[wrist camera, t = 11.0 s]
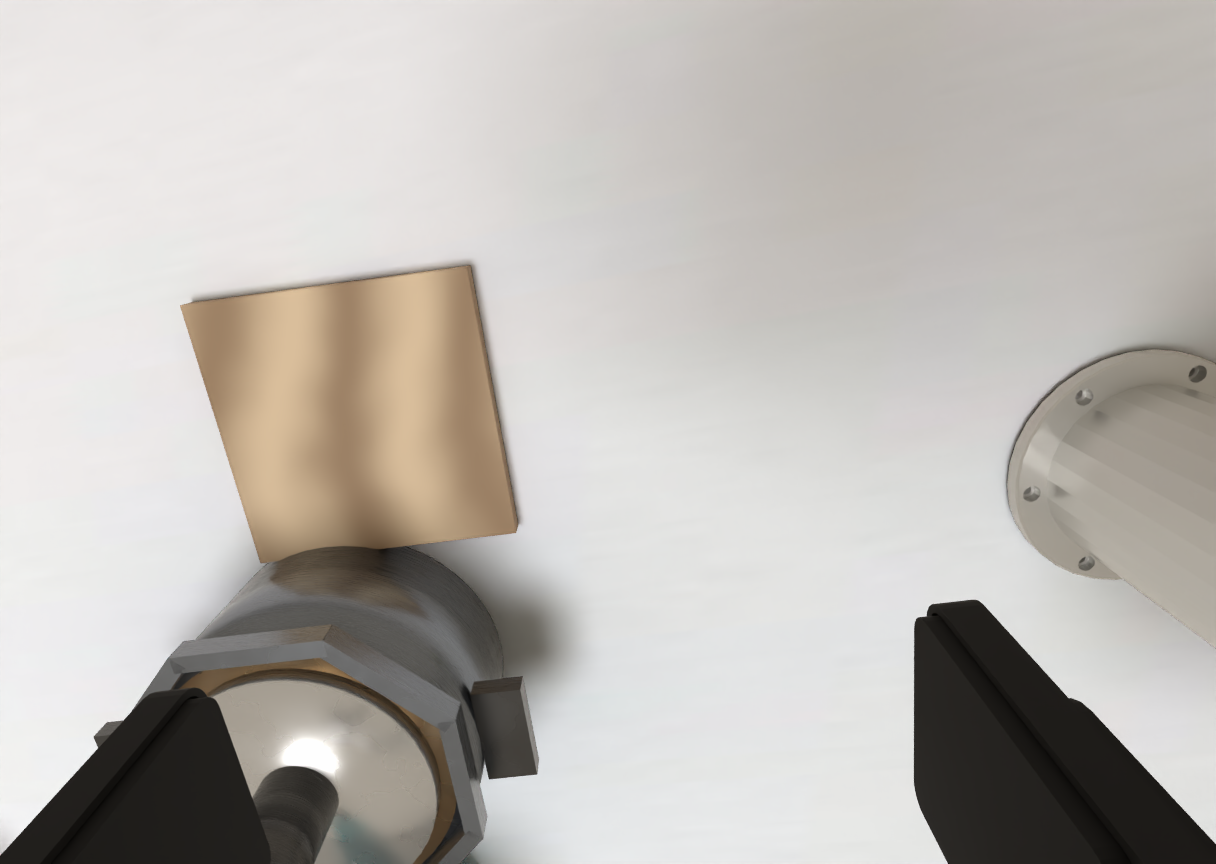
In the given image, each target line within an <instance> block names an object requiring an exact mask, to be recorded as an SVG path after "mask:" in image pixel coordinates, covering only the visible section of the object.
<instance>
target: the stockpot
mask: <svg viewBox="0 0 1216 864" xmlns="http://www.w3.org/2000/svg"><path fill="white" fill-rule="evenodd" d="M283 668H297V669H309V670H316V671H322V672H327V673H332V674H335V675H338V676H341V677H345V678H348V679H351V680H353V681H355V682H358V683H360V684H362V685H365V686H367V687H369V688H370V689H372V690H374V691H376V692H378V693H379V694H381V695H383V696H384V697H386V698H387V699H388V700H390V701H391V702H392V703H394V704H395V705H397V706H398V707H399V708H400V709H401V710H402V711H403V712H404V713H405V714H406V715H408V716H409V717H410V718H411V720H412V721H413V722H414V723H415V724H416V726H417V727H418V728H419V729H420V730H421V732H422V733H423V735H424V737H425V738H426V740H427V741H428V743H429V745H430V747H431V749H432V751H433V753H434V756H435V758H436V762H437V765H438V769H439V773H440V781H441V797H440V803H439V808H438V812H437V816H436V820H435V824H434V827H433V830H432V833H431V836H430V838H429V841H428V843H427V844H426V846H425V848H424V849H423V851H422V853H421V854H420V855H419V857H418V858H417V859H416V860H415V861H414V863H413V864H460V863H461V862H462V861H463V860H464V859H465V857H466V856H467V855H468V854H469V853H470V852H471V851H472V850H473V849H474V848H475V847H476V846H477V844H478V843H479V842H480V841H481V840H482V839H483V837H484V831H485V826H486V821H487V813H486V809H485V805H484V801H483V796H482V792H481V788H480V783H481V778H482V773H483V768H484V764H486V768H487V772H488V777H489V779H497V778H507V777H516V776H526V775H535V774H537V772H538V763H539V757H538V752H537V747H536V742H535V737H534V731H533V726H532V721H531V716H530V711H529V706H528V701H527V696H526V691H525V686H524V681H523V676H521V677H512V678H503V679H502V677H503V657H502V649H501V644H500V640H499V637H498V633H497V630H496V628H495V626H494V623H493V621H492V619H491V617H490V615H489V613H488V612H487V610H486V608H485V607H484V605H483V604H482V602H481V601H480V599H479V598H478V597H477V596H476V594H475V593H474V592H473V591H472V590H471V588H470V587H469V586H468V585H467V584H465V583H464V582H463V581H462V580H461V579H460V578H459V577H458V576H457V575H456V574H454V573H453V572H452V571H450V570H449V569H448V568H446V567H445V566H443V565H442V564H440V563H439V562H437V561H435V560H433V559H432V558H430V557H428V556H426V555H424V554H422V553H420V552H417V551H415V550H413V549H410V548H408V547H405V546H402V547H393V548H385V549H373V548H367V547H356V546H334V547H323V548H317V549H312V550H307V551H303V552H300V553H297V554H294V555H291V556H288V557H286V558H284V559H282V560H280V561H275V562H269V563H268V564H266V565H265V566H264V567H263V568H262V569H261V570H260V571H259V572H257V573H256V574H255V575H254V576H253V577H252V578H251V580H250V581H249V582H248V583H247V584H246V585H245V586H244V587H243V588H242V589H241V590H240V592H239V593H238V594H237V595H236V596H235V597H234V598H233V599H232V600H231V601H230V602H229V604H228V605H227V606H226V607H225V608H224V609H223V610H222V611H221V612H220V613H219V615H218V616H217V617H216V618H215V619H214V620H213V621H212V622H211V623H210V624H209V625H208V627H207V628H206V629H205V630H204V631H203V632H202V633H201V634H200V635H199V636H198V637H197V639H196V640H191V641H184V642H183V643H182V644H181V645H180V646H179V647H178V648H177V649H176V650H175V651H174V652H173V653H172V654H171V656H170V657H169V658H168V659H167V660H166V662H165V663H164V665H163V666H162V668H161V669H160V671H159V672H158V674H157V675H156V676H155V678H154V679H153V681H152V682H151V684H150V685H149V687H148V688H147V690H146V691H145V693H144V694H143V695H142V697H141V698H140V700H139V701H138V703H137V704H136V706H137V705H138V704H139V703H140V702H141V701H142V700H143V699H144V698H145V697H146V696H148V695H149V694H151V693H154V692H158V691H167V690H176V689H185V688H194V687H195V688H199V689H201V690H202V691H203V692H205V694H207V693H208V692H210V691H211V690H212V689H214V688H216V687H218V686H219V685H221V684H223V683H225V682H227V681H229V680H232V679H234V678H236V677H239V676H242V675H245V674H249V673H253V672H257V671H263V670H270V669H283ZM136 706H135V707H134V709H135V708H136ZM134 709H133V710H134ZM133 710H132V711H133ZM122 722H123V721H115V722H107V723H106V724H105V725H104V726H103V727H102V728H101V729H100V730H99V732H98V733H97V734H96V735H95V736H94V739H95V741H96V744H97V746H98V748H99V747H100V746H101V745H102V744H103V743H104V742H105V740H106V739H107V738H108V737H109V736H110V735H111V734H112V733H113V732H114V731H115V729H116V728H117V727H118V726H119V725H120V724H121V723H122Z"/></svg>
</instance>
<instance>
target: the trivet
mask: <svg viewBox="0 0 1216 864" xmlns="http://www.w3.org/2000/svg"><path fill="white" fill-rule="evenodd" d="M180 307H181V310H182V313H183V317H184V320H185V323H186V326H187V329H188V333H189V336H190V339H191V342H192V345H193V349H194V352H195V355H196V358H197V361H198V365H199V368H200V371H201V374H202V377H203V381H204V384H205V387H206V390H207V393H208V396H209V400H210V403H211V406H212V409H213V412H214V416H215V419H216V422H217V425H218V428H219V432H220V435H221V438H222V441H223V444H224V448H225V451H226V454H227V457H228V460H229V464H230V467H231V470H232V473H233V476H234V480H235V483H236V486H237V489H238V492H239V496H240V499H241V502H242V505H243V508H244V512H245V515H246V518H247V521H248V524H249V528H250V531H251V534H252V537H253V540H254V544H255V547H256V550H257V553H258V556H259V560H260V563H267V562H275V561H280V560H282V559H284V558H286V557H288V556H291V555H294V554H297V553H300V552H303V551H307V550H312V549H317V548H323V547H334V546H356V547H367V548H373V549H385V548H393V547H402V546H410V545H418V544H427V543H435V542H444V541H452V540H461V539H469V538H477V537H486V536H494V535H503V534H511V533H516V531H517V528H518V521H517V515H516V510H515V504H514V499H513V494H512V488H511V483H510V477H509V472H508V466H507V461H506V456H505V450H504V445H503V439H502V434H501V429H500V423H499V418H498V412H497V407H496V402H495V396H494V391H493V385H492V380H491V374H490V369H489V364H488V358H487V353H486V347H485V342H484V337H483V331H482V326H481V320H480V315H479V310H478V304H477V299H476V293H475V288H474V282H473V277H472V272H471V266H470V265H469V266H462V267H454V268H447V269H439V270H432V271H424V272H417V273H409V274H402V275H394V276H387V277H379V278H371V279H364V280H356V281H349V282H341V283H334V284H326V285H319V286H311V287H304V288H296V289H289V290H281V291H274V292H266V293H259V294H251V295H244V296H236V297H229V298H221V299H214V300H206V301H199V302H191V303H188V304H184V305H180Z"/></svg>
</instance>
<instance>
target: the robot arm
mask: <svg viewBox="0 0 1216 864" xmlns="http://www.w3.org/2000/svg"><path fill="white" fill-rule="evenodd" d="M1007 488H1008V498H1009V506H1010V509H1011V512H1012V515H1013V517H1014V520H1015V523H1016V525H1017V526H1018V528H1019V530H1020V531H1021V533H1022V534H1023V536H1024V538H1025V539H1026V540H1027V541H1028V542H1029V543H1030V544H1031V545H1032V546H1033V547H1034V548H1035V549H1036V550H1037V551H1038V552H1039V553H1040V554H1042V555H1043V556H1044V557H1046V558H1047V559H1048V560H1050V561H1051V562H1052V563H1054V564H1055V565H1057V566H1059V567H1061V568H1063V569H1065V570H1067V571H1069V572H1071V573H1073V574H1077V575H1081V576H1085V577H1089V578H1094V579H1110V580H1118V579H1124V580H1125V581H1126V582H1128V583H1129V584H1130V585H1131V586H1133V587H1134V588H1135V589H1137V590H1138V591H1139V592H1141V593H1142V594H1143V595H1145V596H1146V597H1147V598H1149V599H1150V600H1151V601H1153V602H1154V603H1155V604H1157V605H1158V606H1159V607H1161V608H1162V609H1163V610H1165V611H1166V612H1167V613H1169V614H1170V615H1171V616H1173V617H1174V618H1175V619H1177V620H1178V621H1179V622H1181V623H1182V624H1183V625H1185V626H1186V627H1187V628H1189V629H1190V630H1191V631H1193V632H1194V633H1195V634H1197V635H1198V636H1199V637H1201V638H1202V639H1203V640H1205V641H1206V642H1207V643H1209V644H1210V645H1211V646H1213V647H1214V648H1215V649H1216V363H1214V362H1211V361H1209V360H1206V359H1204V358H1201V357H1198V356H1194V355H1191V354H1187V353H1183V352H1179V351H1170V350H1156V349H1151V350H1143V351H1134V352H1127V353H1124V354H1121V355H1117V356H1114V357H1110V358H1107V359H1104V360H1102V361H1100V362H1098V363H1096V364H1094V365H1092V366H1089V367H1087V368H1085V369H1083V370H1081V371H1080V372H1078V373H1077V374H1075V375H1074V376H1073V377H1071V378H1070V379H1068V380H1067V381H1065V382H1064V383H1062V384H1061V385H1060V386H1059V387H1058V388H1057V389H1056V390H1054V391H1053V392H1052V393H1051V394H1050V395H1049V396H1048V397H1047V398H1046V399H1045V400H1044V401H1043V402H1042V403H1041V404H1040V406H1039V407H1038V408H1037V410H1036V411H1035V412H1034V414H1033V415H1032V416H1031V417H1030V419H1029V420H1028V421H1027V423H1026V425H1025V427H1024V429H1023V431H1022V433H1021V434H1020V436H1019V438H1018V440H1017V442H1016V445H1015V448H1014V451H1013V454H1012V458H1011V461H1010V464H1009V473H1008V482H1007ZM914 786H915V792H916V796H917V800H918V803H919V806H920V809H921V811H922V813H923V815H924V817H925V819H926V821H927V823H928V825H929V827H930V829H931V831H932V833H933V835H934V837H935V839H936V841H937V843H938V845H939V847H940V849H941V851H942V853H943V855H944V857H945V859H946V861H947V862H948V864H1216V844H1215V843H1214V842H1213V841H1212V840H1211V839H1210V838H1209V836H1208V835H1207V834H1206V833H1205V832H1204V831H1203V830H1202V829H1201V828H1200V827H1199V826H1198V825H1197V824H1196V823H1195V821H1194V820H1193V819H1192V818H1191V817H1190V816H1189V815H1188V814H1187V813H1186V812H1185V811H1184V810H1183V809H1182V808H1181V806H1180V805H1179V804H1178V803H1177V802H1176V801H1175V800H1174V799H1173V798H1172V797H1171V796H1170V795H1169V794H1168V793H1167V791H1166V790H1165V789H1164V788H1163V787H1162V786H1161V785H1160V784H1159V783H1158V782H1157V781H1156V780H1155V779H1154V777H1153V776H1152V775H1151V774H1150V773H1149V772H1148V771H1147V770H1146V769H1145V768H1144V767H1143V766H1142V765H1141V764H1140V762H1139V761H1138V760H1137V759H1136V758H1135V757H1134V756H1133V755H1132V754H1131V753H1130V752H1129V751H1128V750H1127V749H1126V747H1125V746H1124V745H1123V744H1122V743H1121V742H1120V741H1119V740H1118V739H1117V738H1116V737H1115V736H1114V735H1113V734H1112V732H1111V731H1110V730H1109V729H1108V728H1107V727H1106V726H1105V725H1104V724H1103V723H1102V722H1101V721H1100V720H1099V719H1098V717H1097V716H1096V715H1095V714H1094V713H1093V712H1092V711H1091V710H1090V709H1089V708H1087V707H1086V706H1085V705H1084V704H1083V703H1082V702H1080V701H1077V700H1074V699H1072V698H1068V697H1067V696H1066V695H1065V694H1064V693H1063V692H1062V690H1061V689H1060V688H1059V687H1058V686H1057V685H1056V684H1055V683H1054V682H1053V681H1052V680H1051V678H1050V677H1049V676H1048V675H1047V674H1046V673H1045V672H1044V671H1043V670H1042V669H1041V667H1040V666H1039V665H1038V664H1037V663H1036V662H1035V661H1034V660H1033V659H1032V658H1031V656H1030V655H1029V654H1028V653H1027V652H1026V651H1025V650H1024V649H1023V648H1022V647H1021V645H1020V644H1019V643H1018V642H1017V641H1016V640H1015V639H1014V638H1013V637H1012V636H1011V634H1010V633H1009V632H1008V631H1007V630H1006V629H1005V628H1004V627H1003V626H1002V625H1001V624H1000V622H999V621H998V620H997V619H996V618H995V617H994V616H993V615H992V614H991V613H990V611H989V610H988V609H987V608H986V607H985V606H984V605H983V604H982V603H981V602H979V601H978V600H966V601H958V602H949V603H940V604H932V605H931V606H929V608H928V611H927V617H918V618H917V619H916V621H915V627H914ZM270 863H271V851H270V846H269V843H268V841H267V838H266V835H265V832H264V829H263V827H262V824H261V821H260V818H259V815H258V813H257V810H256V807H255V804H254V801H253V799H252V796H251V793H250V790H249V787H248V785H247V782H246V779H245V776H244V773H243V771H242V768H241V765H240V762H239V759H238V757H237V754H236V751H235V748H234V746H233V743H232V740H231V737H230V734H229V732H228V729H227V726H226V723H225V720H224V718H223V715H222V712H221V709H220V706H219V704H218V703H217V701H216V700H215V699H214V698H211V697H207V695H206V694H205V692H203V691H202V690H201V689H199V688H195V687H194V688H185V689H176V690H167V691H158V692H154V693H151V694H149V695H148V696H146V697H145V698H144V699H143V700H142V701H141V702H140V703H139V704H138V705H137V706H136V708H135V709H134V710H133V711H132V712H131V713H130V714H129V715H128V716H127V717H126V718H125V720H124V721H123V722H122V723H121V724H120V725H119V726H118V727H117V728H116V729H115V731H114V732H113V733H112V734H111V735H110V736H109V737H108V738H107V739H106V740H105V742H104V743H103V744H102V745H101V746H100V747H99V748H98V749H97V750H96V751H95V752H94V754H93V755H92V756H91V757H90V758H89V759H88V760H87V761H86V762H85V763H84V765H83V766H82V767H81V768H80V769H79V770H78V771H77V772H76V773H75V774H74V776H73V777H72V778H71V779H70V780H69V781H68V782H67V783H66V784H65V785H64V786H63V788H62V789H61V790H60V791H59V792H58V793H57V794H56V795H55V796H54V797H53V799H52V800H51V801H50V802H49V803H48V804H47V805H46V806H45V807H44V808H43V810H42V811H41V812H40V813H39V814H38V815H37V816H36V817H35V818H34V819H33V820H32V822H31V823H30V824H29V825H28V826H27V827H26V828H25V829H24V830H23V831H22V833H21V834H20V835H19V836H18V837H17V838H16V839H15V840H14V841H13V842H12V844H11V845H10V846H9V847H8V848H7V849H6V850H5V851H4V852H3V853H2V854H1V856H0V864H270Z"/></svg>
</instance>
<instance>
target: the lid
mask: <svg viewBox="0 0 1216 864" xmlns="http://www.w3.org/2000/svg"><path fill="white" fill-rule="evenodd" d="M206 695H207V697H211V698H214V699H215V700H216V701H217V703H218V704H219V706H220V709H221V712H222V715H223V718H224V720H225V723H226V726H227V729H228V732H229V734H230V737H231V740H232V743H233V746H234V748H235V751H236V754H237V757H238V759H239V762H240V765H241V768H242V771H243V773H244V776H245V779H246V782H247V785H248V787H249V790H250V793H251V796H252V799H253V801H254V804H255V807H256V810H257V813H258V815H259V818H260V821H261V824H262V827H263V829H264V832H265V835H266V838H267V841H268V843H269V846H270V851H271V863H270V864H413V863H414V861H415V860H416V859H417V858H418V857H419V855H420V854H421V853H422V851H423V849H424V848H425V846H426V844H427V843H428V841H429V838H430V836H431V833H432V830H433V827H434V824H435V820H436V816H437V812H438V808H439V803H440V797H441V781H440V773H439V769H438V765H437V762H436V758H435V756H434V753H433V751H432V749H431V747H430V745H429V743H428V741H427V740H426V738H425V737H424V735H423V733H422V732H421V730H420V729H419V728H418V727H417V726H416V724H415V723H414V722H413V721H412V720H411V718H410V717H409V716H408V715H406V714H405V713H404V712H403V711H402V710H401V709H400V708H399V707H398V706H397V705H395V704H394V703H392V702H391V701H390V700H388V699H387V698H386V697H384V696H383V695H381V694H379V693H378V692H376V691H374V690H372V689H370V688H369V687H367V686H365V685H362V684H360V683H358V682H355V681H353V680H351V679H348V678H345V677H341V676H338V675H335V674H332V673H327V672H322V671H316V670H309V669H297V668H283V669H270V670H263V671H257V672H253V673H249V674H245V675H242V676H239V677H236V678H234V679H232V680H229V681H227V682H225V683H223V684H221V685H219V686H218V687H216V688H214V689H212V690H211V691H210V692H208V693H207V694H206Z"/></svg>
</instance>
